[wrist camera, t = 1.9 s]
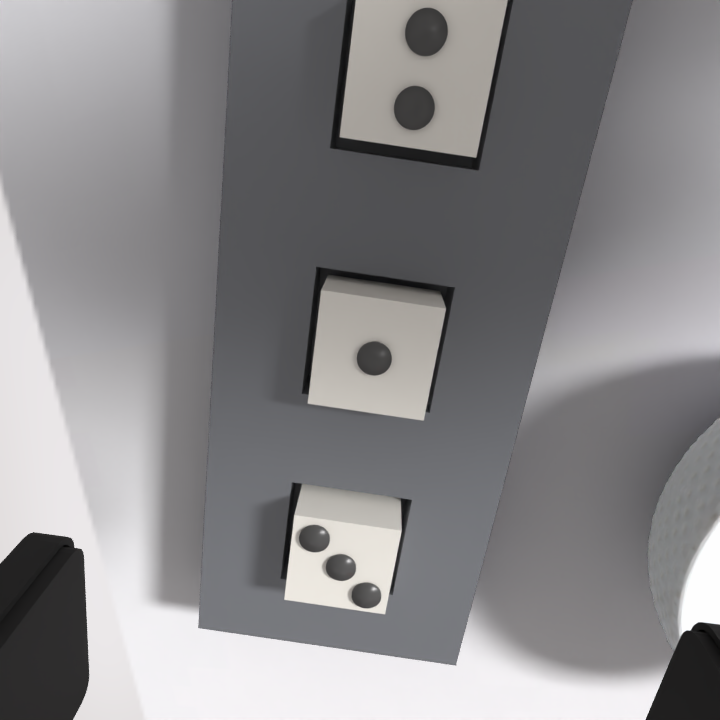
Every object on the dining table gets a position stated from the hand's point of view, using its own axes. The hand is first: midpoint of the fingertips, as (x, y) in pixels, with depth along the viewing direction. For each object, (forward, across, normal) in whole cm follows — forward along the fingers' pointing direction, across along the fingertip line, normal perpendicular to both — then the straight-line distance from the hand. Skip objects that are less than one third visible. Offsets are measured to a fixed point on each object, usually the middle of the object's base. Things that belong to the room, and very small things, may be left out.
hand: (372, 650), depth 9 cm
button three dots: (+14, 0, +9) cm, 17 cm away
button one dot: (+14, 0, 0) cm, 14 cm away
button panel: (+17, 0, 0) cm, 17 cm away
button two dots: (+14, 0, -9) cm, 17 cm away
